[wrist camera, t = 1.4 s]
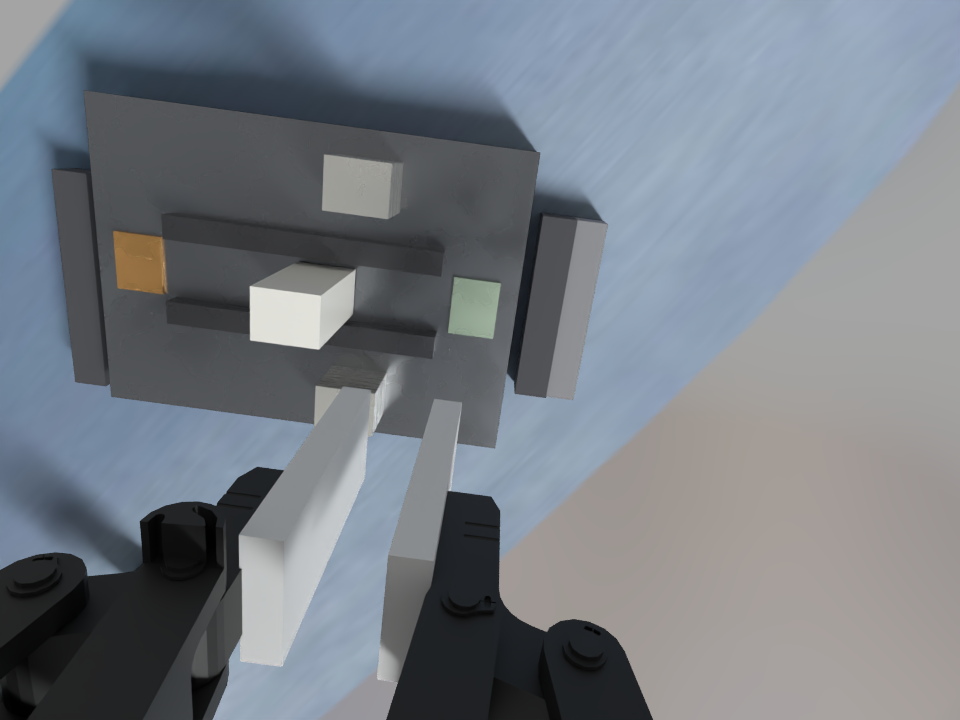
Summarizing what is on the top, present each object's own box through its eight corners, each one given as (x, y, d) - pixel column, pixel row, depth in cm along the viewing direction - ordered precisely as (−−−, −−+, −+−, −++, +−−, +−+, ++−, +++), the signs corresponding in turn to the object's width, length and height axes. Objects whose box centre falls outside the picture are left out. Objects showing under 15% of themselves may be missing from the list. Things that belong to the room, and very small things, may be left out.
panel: (142, 377, 36) (74, 419, 30) (122, 96, 31) (36, 83, 25) (495, 425, 36) (494, 475, 31) (537, 152, 31) (544, 152, 25)
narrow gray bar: (514, 381, 35) (514, 393, 34) (541, 212, 32) (543, 215, 30) (570, 389, 35) (573, 401, 34) (603, 220, 32) (608, 224, 30)
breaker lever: (296, 306, 31) (250, 340, 25) (298, 261, 30) (249, 286, 25) (353, 314, 31) (318, 349, 25) (355, 269, 30) (320, 295, 25)
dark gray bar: (95, 371, 36) (75, 382, 34) (75, 168, 32) (51, 169, 30) (124, 375, 36) (105, 386, 34) (108, 172, 32) (86, 173, 30)
